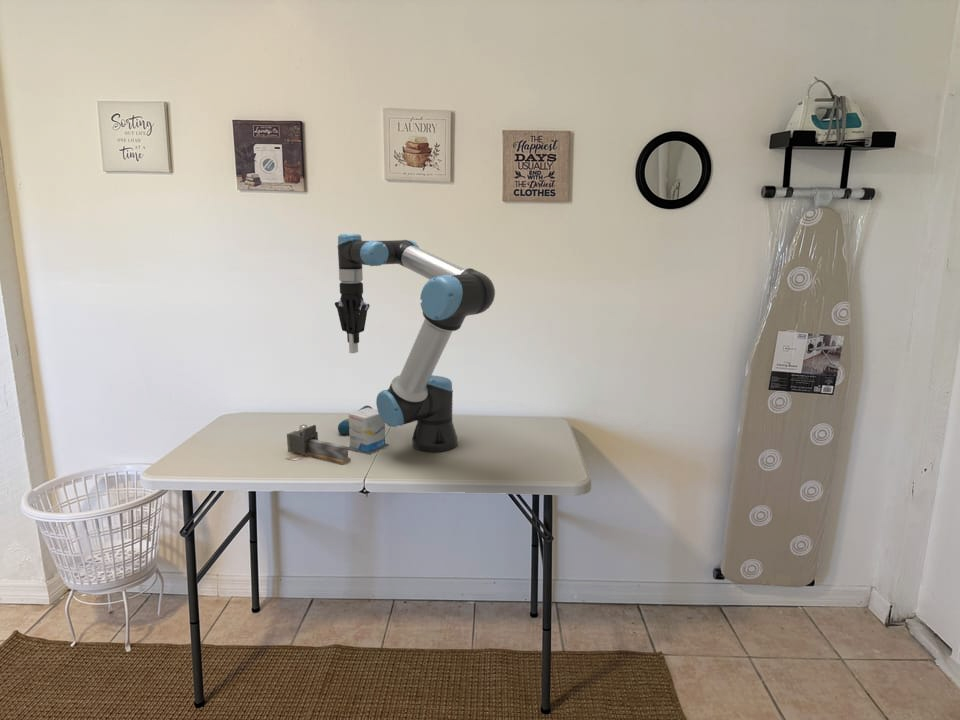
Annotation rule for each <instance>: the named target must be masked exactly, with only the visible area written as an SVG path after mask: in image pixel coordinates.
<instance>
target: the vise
mask: <svg viewBox="0 0 960 720" xmlns="http://www.w3.org/2000/svg"><path fill="white" fill-rule="evenodd" d="M294 432H297V430H293V431H291V432H288V433H286V442H287V443H286V444H287V452H288V453H291V454H292V453H293V454H292V455H289V456H287V457H285V460H289V461H298V460H300V459H302V458H304V457H308V458H312V459H317V460H321V461H324V462H325V461H326V462H329V463H332V464H333V463H334V464H337V465H341V466H343V465H345V464H347V463H350V462H351V457H349V450H348V447H349V446H346V445H342V444H338V443H334V442H328V441H324V440H319V439H318V440H315V439H308V440H307V448H308V453H306V454H303V453H299V452H295V451H291V446H290V434H292V433H294Z"/></svg>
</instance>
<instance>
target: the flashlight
mask: <svg viewBox="0 0 960 720" xmlns="http://www.w3.org/2000/svg"><path fill="white" fill-rule="evenodd" d="M365 408H371V409H373V407H372V406H370V405H364V406H362V407H361V408H360V409H359V410H361V409H365ZM337 432H338V433H339V434H341V435H342V436H347V435H350V434H349V418H345V419H344V420H342V421H341V422H339V424H338V425H337Z"/></svg>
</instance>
